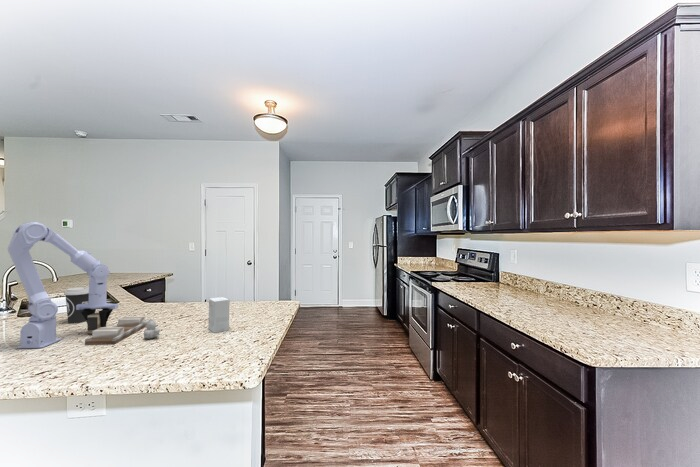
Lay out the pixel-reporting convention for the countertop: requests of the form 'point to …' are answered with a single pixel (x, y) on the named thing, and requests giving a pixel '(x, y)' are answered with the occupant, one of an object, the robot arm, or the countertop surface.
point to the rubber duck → (151, 330)
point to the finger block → (93, 322)
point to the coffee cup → (76, 303)
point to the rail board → (117, 331)
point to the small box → (218, 314)
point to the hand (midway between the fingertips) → (97, 327)
